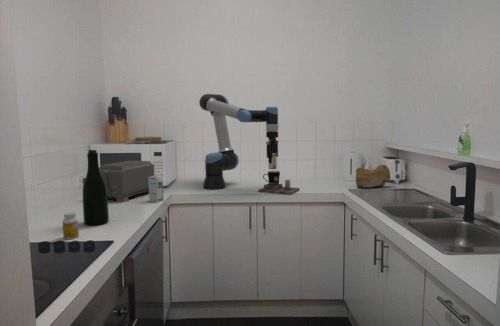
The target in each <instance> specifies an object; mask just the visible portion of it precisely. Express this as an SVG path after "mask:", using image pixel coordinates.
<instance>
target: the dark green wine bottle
mask: <svg viewBox="0 0 500 326" xmlns="http://www.w3.org/2000/svg"><path fill="white" fill-rule="evenodd" d="M87 152H88V153H87V154H86V155H87V157H86V158H87V171H86V175H85V178H84V182H83V184H82V213H83V214H82V216H83V223H84V225H86V226H100V225H104V224H107V223H108V222H109V220H110V217H109V202H108V199H107V189H106V184H105V182H104V180H103V177H102V175H101V173H100V170H99V167H100V165H99V153H98V152H97V149H89V150H87Z"/></svg>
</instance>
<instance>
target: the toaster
mask: <svg viewBox="0 0 500 326" xmlns="http://www.w3.org/2000/svg"><path fill="white" fill-rule="evenodd" d="M99 170H100V173H101V175H102V177H103V180H104V182H105V184H106V189H107V199H108V200H110V198H115V200H116V201H115V202H117V203H126V202H129V201H130V200H129V198H130V197H133V196H136V195H140V194H143V193H145V194H149V181H148V177H151V176H155V165H154V164H153V163H152V162H151V161H150V160H127V161H119V162H115V163H106V164H102V165H99Z"/></svg>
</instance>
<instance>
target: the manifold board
mask: <svg viewBox="0 0 500 326" xmlns="http://www.w3.org/2000/svg"><path fill="white" fill-rule="evenodd" d="M299 191H300V187H291V180H290V179H285V180H284V186H283V184H282V183H279V184H276V183H269V182H267V183H266V184H263V187H261V188H259V189H257V193H264V194H265V193H266V194H267V193H268V194H275V195H277V194H278V195H287V196H291V195H293V194H295V193H297V192H299Z"/></svg>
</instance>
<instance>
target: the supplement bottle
mask: <svg viewBox="0 0 500 326" xmlns="http://www.w3.org/2000/svg"><path fill="white" fill-rule="evenodd" d="M63 218H64V219H62V230H63V231H62V234H63V239H65V240H75V239H77V238H78V237H79V235H80V234H79V232H80V231H79V220H78V218H77V217H76V212H75V211H73V212H72V211H70V212H65V213H64V214H63Z"/></svg>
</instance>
